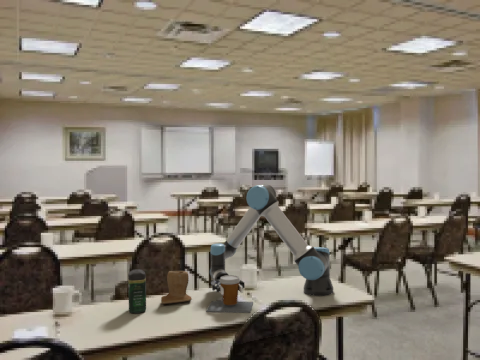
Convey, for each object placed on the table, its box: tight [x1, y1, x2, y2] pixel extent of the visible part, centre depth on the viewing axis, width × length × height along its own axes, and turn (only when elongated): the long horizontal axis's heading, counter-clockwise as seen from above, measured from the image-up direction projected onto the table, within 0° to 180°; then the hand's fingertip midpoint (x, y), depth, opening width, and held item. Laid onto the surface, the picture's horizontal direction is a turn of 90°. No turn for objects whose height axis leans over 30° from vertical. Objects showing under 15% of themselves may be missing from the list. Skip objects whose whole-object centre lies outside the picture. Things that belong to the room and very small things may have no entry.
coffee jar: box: [127, 268, 147, 314], centre depth 199 cm, size 10×8×19 cm
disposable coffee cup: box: [220, 274, 241, 305], centre depth 201 cm, size 10×10×12 cm
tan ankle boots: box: [160, 270, 192, 305], centre depth 211 cm, size 15×12×15 cm
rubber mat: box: [205, 300, 254, 314], centre depth 201 cm, size 20×14×1 cm
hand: (232, 290), depth 196 cm, fingers closed on disposable coffee cup, 8 cm apart
